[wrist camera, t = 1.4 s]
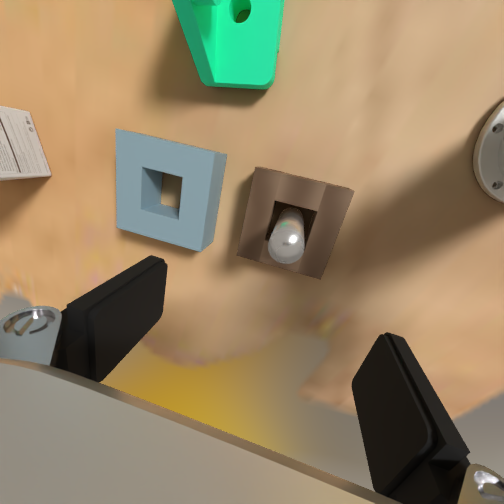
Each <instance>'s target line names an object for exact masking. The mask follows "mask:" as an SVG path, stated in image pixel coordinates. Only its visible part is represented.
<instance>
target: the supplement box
mask: <svg viewBox="0 0 504 504" xmlns="http://www.w3.org/2000/svg"><path fill="white" fill-rule="evenodd" d="M48 176H51V172H50V169H49V166H48V163H47V160H46V158H45V155H44V152H43V149H42V146H41V143H40V140H39V138H38V135H37V132H36V129H35V126H34V124H33V121H32V118H31V115H30V112H28V111H24V110H19V109H14V108H9V107H4V106H0V181H2V180H15V179H26V178H37V177H48Z"/></svg>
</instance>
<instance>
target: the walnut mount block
mask: <svg viewBox="0 0 504 504" xmlns="http://www.w3.org/2000/svg"><path fill="white" fill-rule="evenodd" d="M353 194H354V191H353V190H351V189H349V188H346V187H342V186H338V185H333V184H329V183H325V182H321V181H317V180H313V179H309V178H305V177H301V176H296V175H292V174H288V173H284V172H280V171H276V170H272V169H268V168H263V167H255V171H254V176H253V181H252V185H251V190H250V195H249V199H248V204H247V209H246V214H245V218H244V223H243V228H242V233H241V237H240V242H239V247H238V252H237V256H241V257H244V258H248V259H251V260H255V261H258V262H262V263H265V264H269V265H272V266H276V267H279V268H283V269H286V270H290V271H293V272H296V273H300V274H303V275H307V276H310V277H314V278H317V279H321V277H322V275H323V272H324V269H325V267H326V264H327V262H328V259H329V256H330V254H331V251H332V249H333V246H334V243H335V241H336V238H337V236H338V233H339V230H340V228H341V225H342V223H343V220H344V217H345V215H346V212H347V210H348V207H349V204H350V202H351V199H352V197H353ZM276 201H280V202H283V203H287V204H291V205H295V206H299V207H303V208H307V209H311V210H314V213H313V216H312V219H311V223H310V226H309V229H308V232H307V235H306V238H305V241H304V247H305V248H304V253H303V255H302V256H301V258H300V259H299V260H297V261H296V262H293V263H290V264H283V263H280V262H277V261H276V260H274V259H273V258H272V257H271V255H270V253H269V251H268V242H269V239H270V237H271V235H272V233H268V232H269V228H270V224H271V220H272V216H273V212H274V208H275V204H276Z"/></svg>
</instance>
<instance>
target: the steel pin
mask: <svg viewBox="0 0 504 504" xmlns="http://www.w3.org/2000/svg"><path fill="white" fill-rule="evenodd" d="M304 248H305V247H304V219H303V215H302V213H301V212H300V211H299V210H298V209H296V208H287V209H285V210H284V211H282V213H281V214H280V216H279V218H278V221H277V223H276V225H275V228H274V230H273V232H272V235H271V237H270V239H269V242H268V251H269V253H270V255H271V257H272V258H273V259H274V260H276V261H277V262H280V263H283V264H290V263H293V262H296V261H297V260H299V259H300V258H301V256H302V255H303V253H304Z"/></svg>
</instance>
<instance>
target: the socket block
mask: <svg viewBox="0 0 504 504" xmlns="http://www.w3.org/2000/svg"><path fill="white" fill-rule="evenodd" d="M226 158H227V154H224V153H220V152H215V151H211V150H207V149H203V148H199V147H195V146H191V145H186V144H182V143H178V142H174V141H170V140H166V139H161V138H157V137H153V136H149V135H145V134H141V133H136V132H131V131H125V130H120V129H116V203H117V228H120V229H123V230H127V231H130V232H133V233H137V234H140V235H144V236H147V237H151V238H154V239H158V240H161V241H164V242H168V243H171V244H175V245H178V246H182V247H185V248H188V249H192V250H195V251H199V252H201V251H202V250H204V249H205V248H206V247H207V246H208V245H209V244H211V243H212V242H213V238H214V232H215V226H216V220H217V214H218V207H219V201H220V195H221V189H222V183H223V177H224V171H225V164H226ZM162 172H165V173H168V174H172V175H176V176H180V177H183V180H182V190H181V200H180V209H177V208H174V207H170V206H166V205H163V204H161V188H162Z"/></svg>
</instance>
